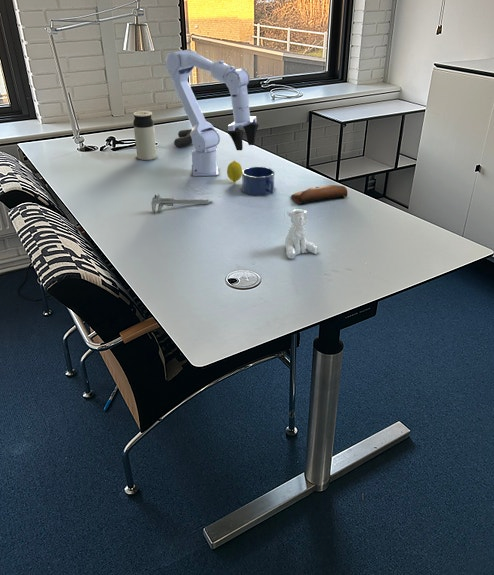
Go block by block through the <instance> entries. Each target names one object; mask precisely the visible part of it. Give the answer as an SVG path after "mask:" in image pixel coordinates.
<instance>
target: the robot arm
mask: <svg viewBox="0 0 494 575" xmlns="http://www.w3.org/2000/svg"><path fill="white" fill-rule="evenodd" d="M165 58H166V59H165V64H164V65H165V67H166V69H167V72H168V74H169V77H170V82H171V84H172V86H173V88H174V91H175V93H176V95H177V97H178V99H179V101H180V103H181V106H182V108H183V110H184V112H185V115H186V116H187V118H188V120H189V123H190V125H191V127H192V128H191V129H192V131H191V133H190V136H191V138H192V144H191V145H192V146H193V149H192V150H191V170H192V176H193V177H205V176H206V177H207V176H208V177H210V176H212V177H213V176H219V168H218V166H217V165H218V164H217V160H218V159H217V149H218V146H219V144H220V143H221V136H220V134H219V131H218V130H216V129H215V127H214V125H213V124H212V123H210V122H209V121H207V120H206V118H205V116H204V113H203V111H202V109H201V107H200V104H199V102H198V101H197V97H196V96H195V93H194V92H193V89H192V87H191V85H190V83H189V77H190V75H191V73H192V72H193V70H194V68H197V69H200V70H203V71H205V72H208V73H210V76H211V78H213V79H215V80H217V81H219V82H221V83H223V84H225V85H226V87H227V88H228V91H229V94H230V100H231V107H232V114H233V122H231V123H230V124H228V125H227V128H228V130H227V134H228V135H229V137H230V139H231V140H232V142H233V145H234V147H235V149H236V151H243V149H244V148H243V146H244V145H243V136H244V133H245V136H246V140H247V145H248V146H255V143H256V134H257V131H258V128H259V126H260V124H259V123H258V122H257V116H251V111H250V110H251V109H250V102H249V92H248V85H249V83H250V74H249V72H248V71H247V70H246V69H245V68H243V67H241V68H238V69H237V67H236V66H234V65H229V64H226V63H225V61H224V60H222V59H221V60H217V61H212V60H210V59H208V58H206V57H204V56H202V55H201V54H199V53H197V51H196V50H192V49H189V48H187V49H184V50H178V51H170V52H168V54H167V55H166V57H165ZM241 128H243V129H241Z"/></svg>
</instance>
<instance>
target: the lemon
mask: <svg viewBox="0 0 494 575" xmlns="http://www.w3.org/2000/svg"><path fill="white" fill-rule="evenodd" d="M242 171H243V167H242V165H241V163H240V162H238V161H236V160H233V161H231V162H230V163H229V164H228V166H227V169H226V175H227V177H228V179H229V180H230V181H232V182H233V183H236V182H238V181H239V180H241V179H242Z"/></svg>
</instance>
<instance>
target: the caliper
mask: <svg viewBox="0 0 494 575" xmlns="http://www.w3.org/2000/svg"><path fill="white" fill-rule="evenodd" d="M210 203H211V204H212V203H213V201H212V200H210V199H209V198H174V197H172V196H161V195H160V194H159V193H158V194H156V193H154V197H152V199H151V211H152V213H153V214H155V213H156V208H157V213H158V214H160V213H161V211H162V210H163V207H164V206H166V207H174V205H209V204H210Z"/></svg>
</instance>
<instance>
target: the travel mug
mask: <svg viewBox="0 0 494 575" xmlns="http://www.w3.org/2000/svg"><path fill="white" fill-rule="evenodd" d="M132 115H133V118H134V119H133V121H132V123H133V132H134V141H135V142H134V143H135V150H136V158H137V159H139V160H141V161H151V160H155V159H156V158H157V156H158V154H157V146H156V145H157V143H156V133H155V132H156V131H155V123H154V120H153V117H152V115H153V112H152V111H150V110H137V111H135V112H133V113H132Z"/></svg>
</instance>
